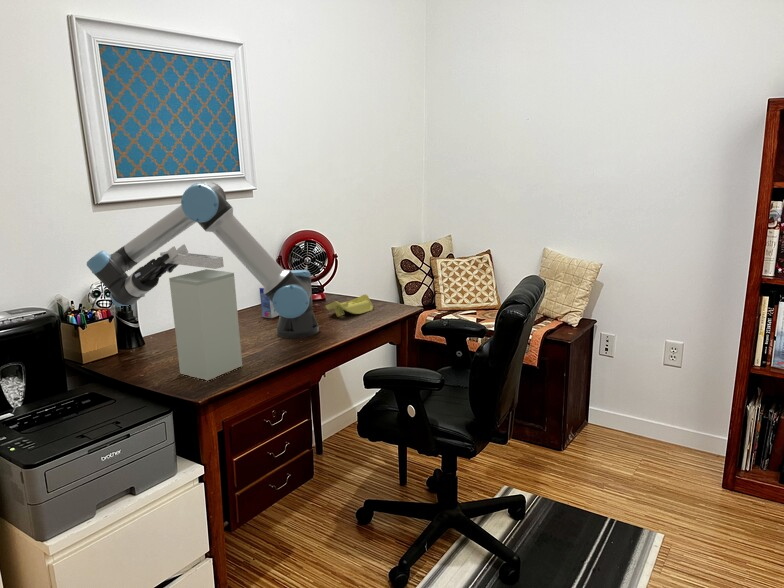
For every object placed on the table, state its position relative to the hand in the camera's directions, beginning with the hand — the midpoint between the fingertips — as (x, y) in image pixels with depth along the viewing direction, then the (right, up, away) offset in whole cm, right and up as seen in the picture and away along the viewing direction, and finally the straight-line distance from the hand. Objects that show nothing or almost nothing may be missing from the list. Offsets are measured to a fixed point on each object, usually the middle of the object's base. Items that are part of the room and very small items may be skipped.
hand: (180, 249), depth 187 cm
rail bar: (+4, -5, -1) cm, 6 cm away
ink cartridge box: (+16, -22, +65) cm, 70 cm away
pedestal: (+8, -37, +5) cm, 38 cm away
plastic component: (+46, -21, +65) cm, 82 cm away
